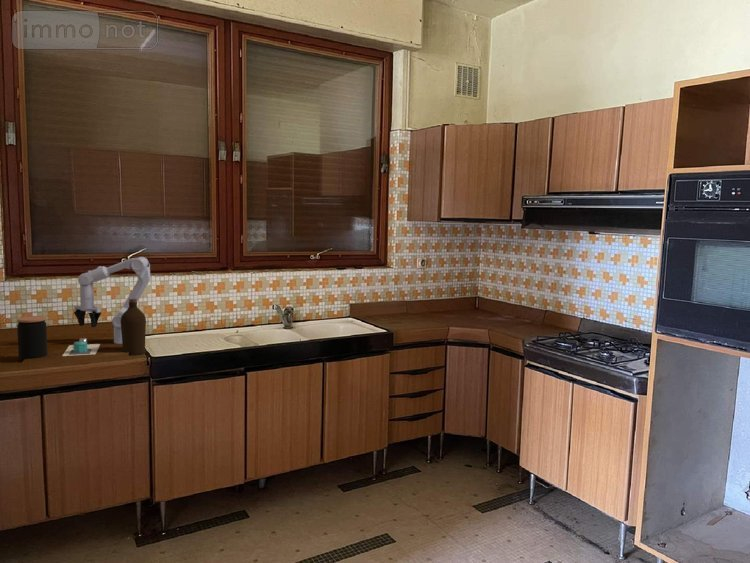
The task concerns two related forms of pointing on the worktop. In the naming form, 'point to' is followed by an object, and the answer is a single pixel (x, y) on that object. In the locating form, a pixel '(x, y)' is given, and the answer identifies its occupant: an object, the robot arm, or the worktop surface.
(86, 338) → the post
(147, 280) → the robot arm
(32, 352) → the coffee jar
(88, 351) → the pad
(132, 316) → the olive oil
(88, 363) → the worktop surface
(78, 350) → the cap
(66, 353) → the board
